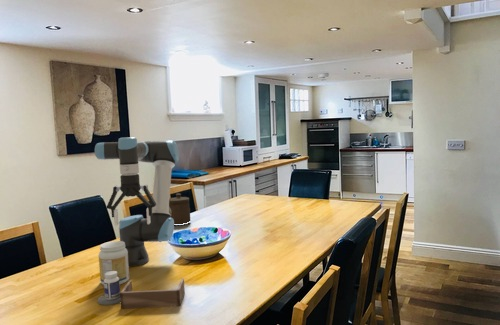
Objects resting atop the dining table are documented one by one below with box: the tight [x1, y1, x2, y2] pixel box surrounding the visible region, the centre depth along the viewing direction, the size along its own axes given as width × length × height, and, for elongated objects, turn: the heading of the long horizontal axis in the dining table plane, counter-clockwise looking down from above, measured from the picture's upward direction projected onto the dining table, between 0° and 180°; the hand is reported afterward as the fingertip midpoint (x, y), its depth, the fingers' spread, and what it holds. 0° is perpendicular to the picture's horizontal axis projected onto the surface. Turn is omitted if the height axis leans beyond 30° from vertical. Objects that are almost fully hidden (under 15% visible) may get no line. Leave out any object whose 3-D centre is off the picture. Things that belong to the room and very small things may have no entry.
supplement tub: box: [98, 240, 130, 286], centre depth 174 cm, size 12×12×17 cm
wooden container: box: [168, 192, 191, 224], centre depth 281 cm, size 15×15×22 cm
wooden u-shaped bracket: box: [120, 278, 186, 310], centre depth 153 cm, size 12×22×6 cm, turn 91°
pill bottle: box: [103, 271, 121, 300], centre depth 156 cm, size 6×6×10 cm
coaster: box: [97, 294, 121, 306], centre depth 156 cm, size 11×11×1 cm
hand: (132, 224), depth 167 cm, fingers open, 13 cm apart
